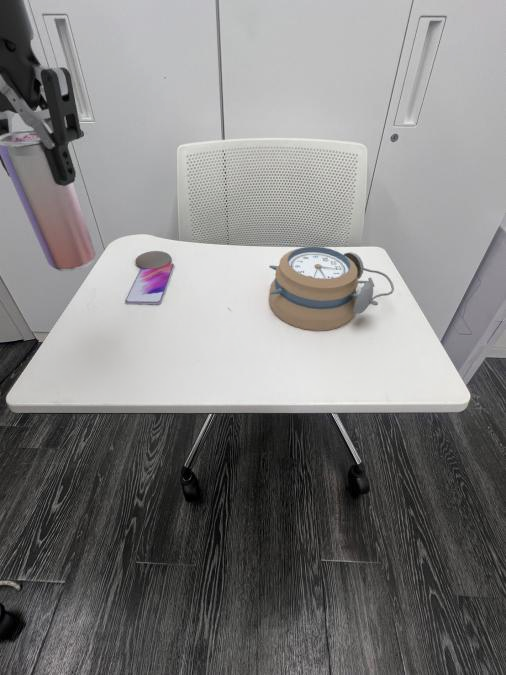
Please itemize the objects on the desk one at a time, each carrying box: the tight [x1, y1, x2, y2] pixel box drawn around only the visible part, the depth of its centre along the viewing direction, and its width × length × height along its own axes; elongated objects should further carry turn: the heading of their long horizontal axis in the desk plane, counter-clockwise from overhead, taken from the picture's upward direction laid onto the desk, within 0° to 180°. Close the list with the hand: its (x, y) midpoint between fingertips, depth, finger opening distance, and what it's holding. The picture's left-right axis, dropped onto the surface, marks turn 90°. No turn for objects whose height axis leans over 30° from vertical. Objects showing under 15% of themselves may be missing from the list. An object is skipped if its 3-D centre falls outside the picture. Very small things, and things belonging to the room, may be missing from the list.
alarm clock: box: [268, 246, 395, 331], centre depth 65 cm, size 17×9×23 cm
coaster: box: [134, 250, 172, 270], centre depth 78 cm, size 8×8×1 cm
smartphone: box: [124, 262, 175, 306], centre depth 71 cm, size 7×1×15 cm
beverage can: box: [0, 129, 96, 272], centre depth 41 cm, size 6×6×15 cm
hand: (42, 179), depth 39 cm, fingers closed on beverage can, 6 cm apart
